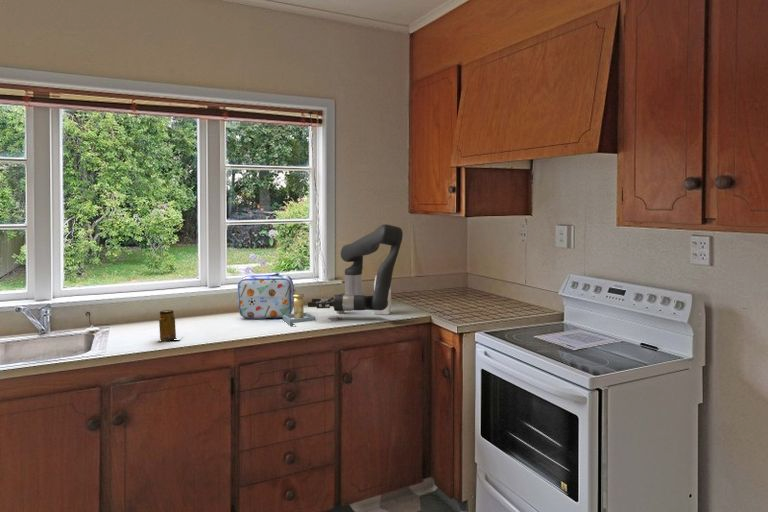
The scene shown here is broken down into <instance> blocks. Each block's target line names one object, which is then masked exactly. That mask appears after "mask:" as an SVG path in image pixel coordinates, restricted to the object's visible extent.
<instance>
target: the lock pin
mask: <svg viewBox="0 0 768 512" xmlns="http://www.w3.org/2000/svg"><path fill="white" fill-rule="evenodd" d="M304 297H305V294H303V293H294V294H293V314H294V318H293V319H297V318H305V316H304V313H305V310H304V307H305V306H304Z"/></svg>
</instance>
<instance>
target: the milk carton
mask: <svg viewBox="0 0 768 512" xmlns="http://www.w3.org/2000/svg"><path fill="white" fill-rule="evenodd" d="M376 277H377V275H375V277H374V282H373V290H375V285H376ZM373 311H374V315H390V313H391V312H392V286H390V289H389V293H388V306H387V308H386V309H384V310H373Z"/></svg>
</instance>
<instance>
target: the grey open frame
mask: <svg viewBox="0 0 768 512" xmlns="http://www.w3.org/2000/svg"><path fill="white" fill-rule="evenodd" d="M282 317H283V318H282V322H283V321H284V322H283V323H285V322H286V323H287V324H288V326H289V325H290V326H289V327H294V326H293V325H296V323H303V322H312V321H316V316H314V315H312V314H311V313H309V312H304V318H297V319H294V313H291V314H288V315H283V316H282ZM286 323H285V324H286ZM287 324H286V325H287Z"/></svg>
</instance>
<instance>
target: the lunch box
mask: <svg viewBox="0 0 768 512" xmlns="http://www.w3.org/2000/svg"><path fill="white" fill-rule="evenodd" d="M296 292H297V289H296V288H295V284H294V282H293V279H292V278H291V277H290V275H284V274H283V275H280V273H278V272H277V273H274V274H259V275H257V274H256V275H255V274H254V275H253V274H252V275H246V276H244V277H243V276H242V278H241V279H240V280H239V281H238V284H237V299H238V311H239V315H240V316H241V317H242V318H243V319H244V318H245V319H250V320H251V319H253V320H254V319H255V320H257V319H258V320H259V319H260V320H267V319H266V318H273V319H283V315H288V314H292V312H293V311H294V298H293V294H295V293H296Z"/></svg>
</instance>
